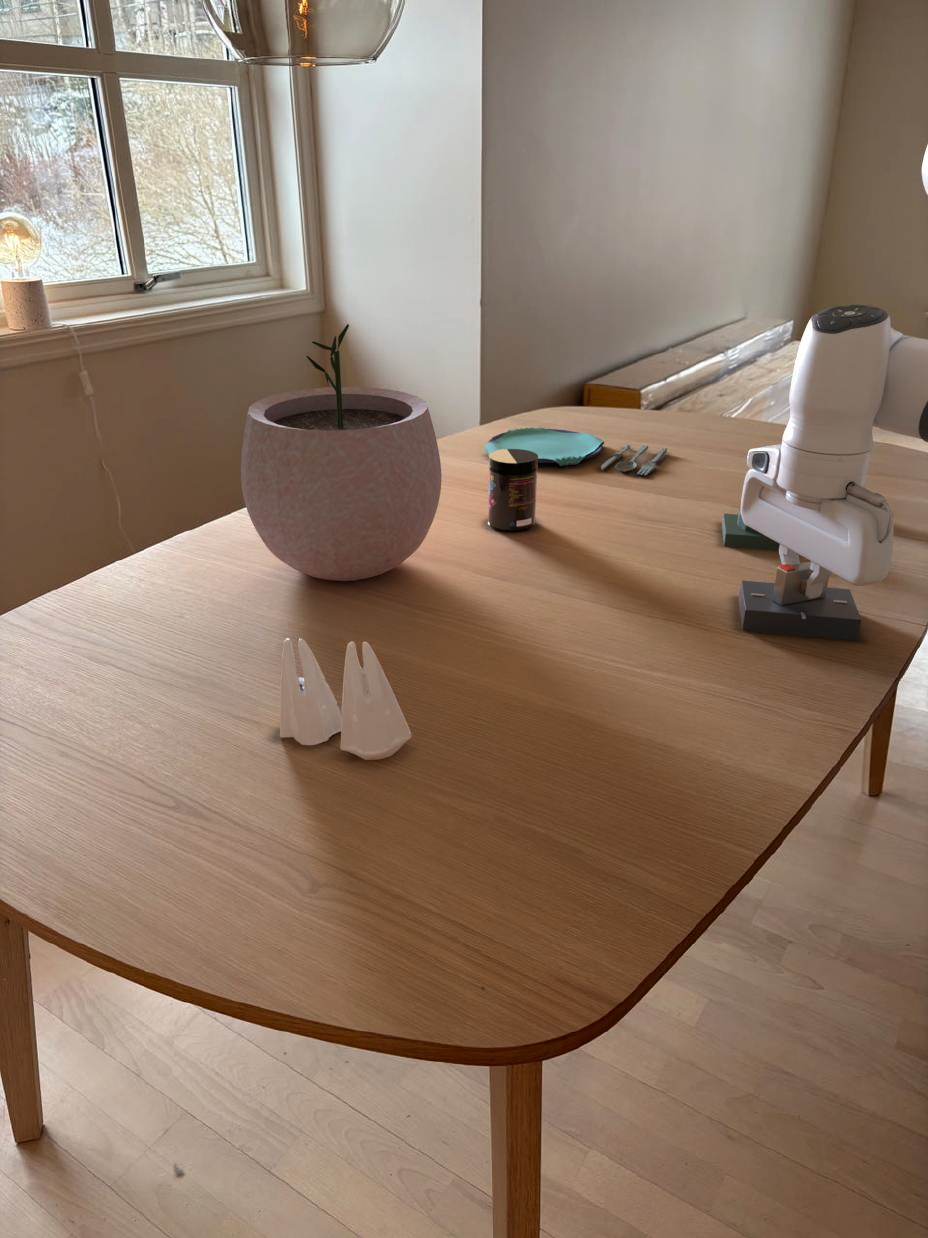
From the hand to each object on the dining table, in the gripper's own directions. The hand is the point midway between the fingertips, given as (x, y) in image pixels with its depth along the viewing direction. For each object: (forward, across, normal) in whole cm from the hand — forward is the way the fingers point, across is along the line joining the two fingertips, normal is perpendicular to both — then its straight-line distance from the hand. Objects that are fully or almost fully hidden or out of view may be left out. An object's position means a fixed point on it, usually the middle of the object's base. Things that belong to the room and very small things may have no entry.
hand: (800, 589), depth 106 cm
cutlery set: (+5, +66, -5) cm, 66 cm away
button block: (+4, +22, -12) cm, 25 cm away
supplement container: (+4, +39, +18) cm, 43 cm away
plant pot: (+4, +33, +43) cm, 54 cm away
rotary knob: (+1, 0, 0) cm, 1 cm away
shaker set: (+4, -6, +54) cm, 54 cm away
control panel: (+4, 0, 0) cm, 4 cm away
